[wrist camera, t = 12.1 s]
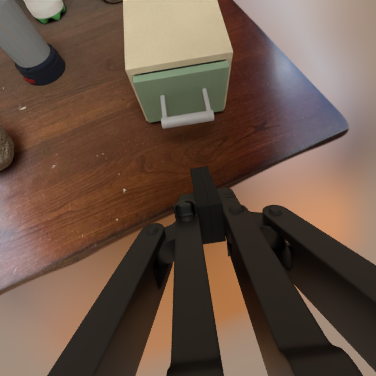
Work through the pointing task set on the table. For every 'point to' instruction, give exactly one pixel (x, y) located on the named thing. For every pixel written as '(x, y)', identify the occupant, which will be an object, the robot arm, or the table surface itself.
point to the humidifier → (27, 46)
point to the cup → (45, 9)
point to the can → (113, 1)
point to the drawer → (183, 93)
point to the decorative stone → (5, 149)
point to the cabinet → (173, 36)
